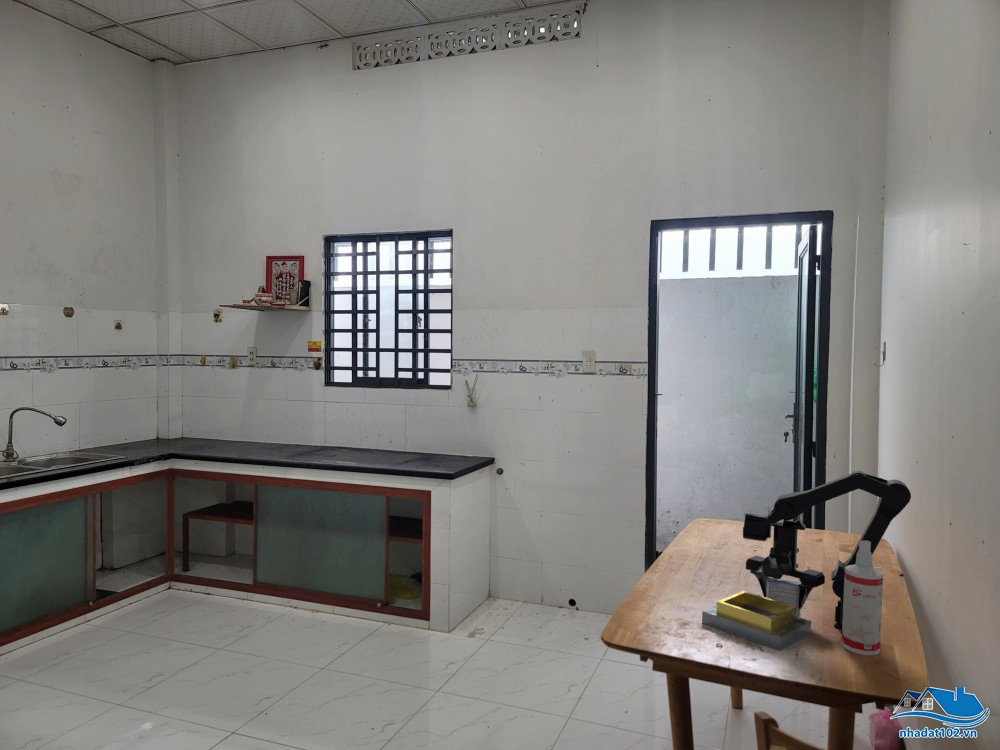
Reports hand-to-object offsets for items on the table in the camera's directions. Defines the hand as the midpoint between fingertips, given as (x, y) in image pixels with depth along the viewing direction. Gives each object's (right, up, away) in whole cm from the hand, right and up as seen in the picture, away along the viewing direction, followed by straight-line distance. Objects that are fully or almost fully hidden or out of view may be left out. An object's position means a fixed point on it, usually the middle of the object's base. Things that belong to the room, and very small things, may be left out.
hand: (782, 603), depth 173 cm
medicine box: (0, -3, 0) cm, 3 cm away
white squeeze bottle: (+10, -4, -19) cm, 22 cm away
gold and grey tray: (-11, -3, -9) cm, 14 cm away
